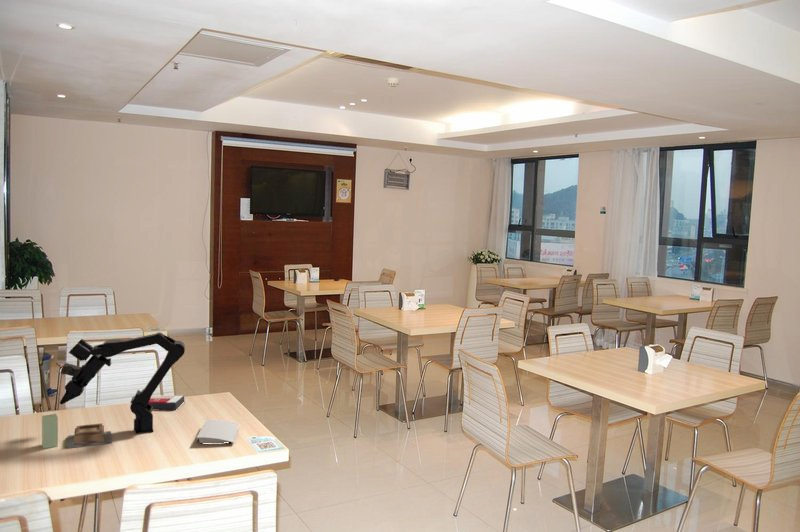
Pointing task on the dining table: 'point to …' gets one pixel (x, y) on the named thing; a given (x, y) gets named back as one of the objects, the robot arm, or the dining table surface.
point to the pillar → (49, 431)
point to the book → (217, 431)
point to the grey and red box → (166, 402)
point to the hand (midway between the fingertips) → (63, 400)
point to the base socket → (89, 436)
